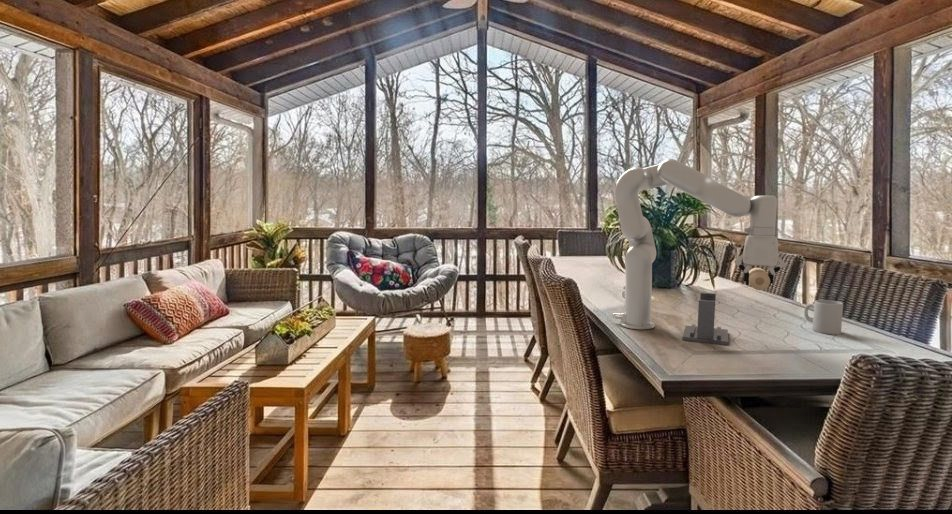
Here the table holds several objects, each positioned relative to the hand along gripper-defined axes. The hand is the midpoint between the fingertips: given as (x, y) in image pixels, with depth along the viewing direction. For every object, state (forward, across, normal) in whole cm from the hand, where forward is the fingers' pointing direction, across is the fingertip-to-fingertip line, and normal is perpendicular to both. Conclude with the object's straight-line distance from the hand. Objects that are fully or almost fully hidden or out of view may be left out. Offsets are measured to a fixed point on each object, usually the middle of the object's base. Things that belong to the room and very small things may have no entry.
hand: (757, 284), depth 169 cm
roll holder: (+19, -15, -4) cm, 25 cm away
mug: (+19, +23, +23) cm, 38 cm away
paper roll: (+1, 0, 0) cm, 1 cm away
